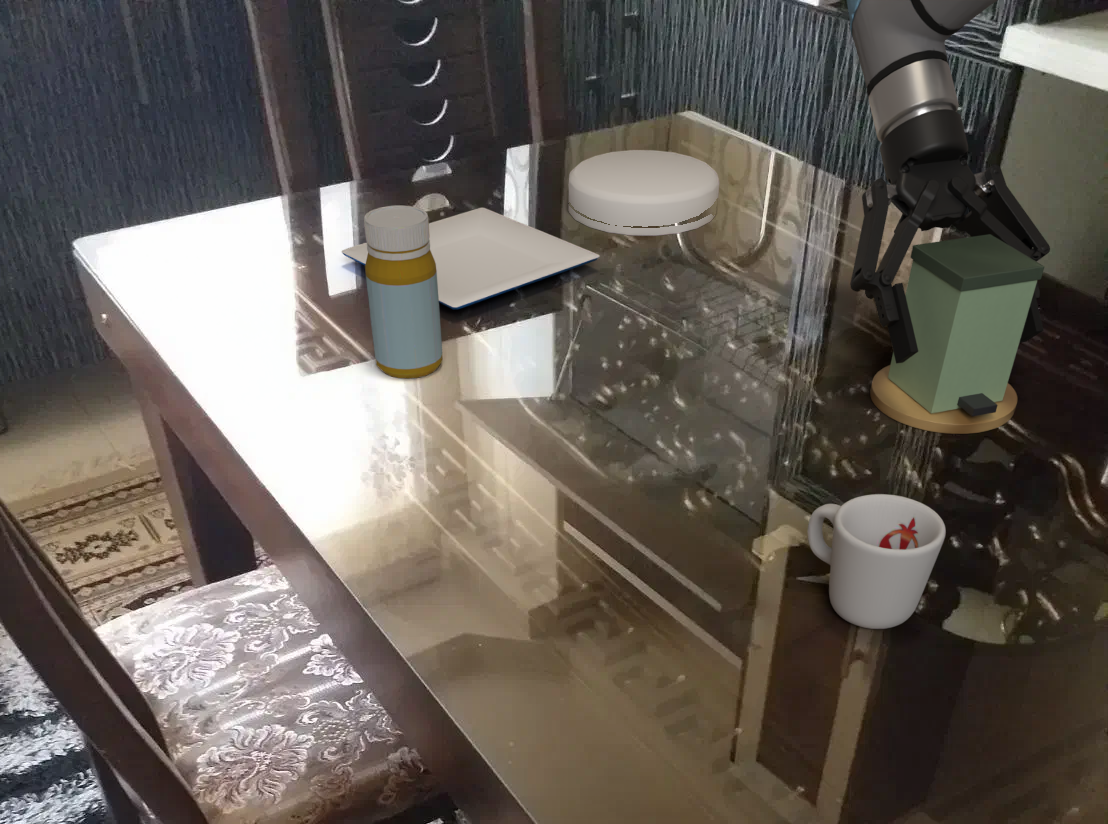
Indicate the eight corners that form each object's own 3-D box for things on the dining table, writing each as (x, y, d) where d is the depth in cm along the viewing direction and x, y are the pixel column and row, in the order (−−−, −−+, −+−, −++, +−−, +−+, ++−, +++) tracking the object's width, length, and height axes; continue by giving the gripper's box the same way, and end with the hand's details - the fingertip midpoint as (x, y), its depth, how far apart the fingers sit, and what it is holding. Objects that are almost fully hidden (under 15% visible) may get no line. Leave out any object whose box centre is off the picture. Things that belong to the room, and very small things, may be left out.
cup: (769, 590, 91) (783, 502, 86) (834, 553, 95) (851, 467, 89) (878, 655, 85) (900, 565, 80) (943, 613, 89) (969, 524, 83)
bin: (884, 377, 116) (912, 244, 107) (956, 365, 117) (990, 233, 108) (944, 426, 108) (979, 288, 99) (1020, 412, 110) (1061, 276, 101)
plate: (341, 266, 140) (339, 249, 138) (483, 222, 151) (482, 205, 149) (455, 324, 128) (454, 305, 126) (601, 271, 138) (601, 253, 137)
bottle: (454, 358, 122) (445, 209, 111) (422, 385, 117) (409, 233, 107) (397, 346, 124) (383, 199, 113) (363, 373, 119) (345, 223, 109)
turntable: (978, 363, 120) (981, 354, 119) (1039, 427, 110) (1042, 418, 109) (850, 373, 119) (852, 363, 118) (900, 439, 109) (902, 429, 108)
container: (644, 248, 144) (646, 209, 141) (537, 207, 154) (536, 170, 151) (748, 209, 153) (752, 172, 150) (640, 174, 164) (642, 138, 161)
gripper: (1007, 137, 115) (1055, 343, 115) (783, 164, 109) (834, 381, 109) (1056, 92, 108) (1108, 312, 108) (819, 118, 102) (873, 350, 102)
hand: (970, 347), depth 109 cm, fingers open, 13 cm apart
